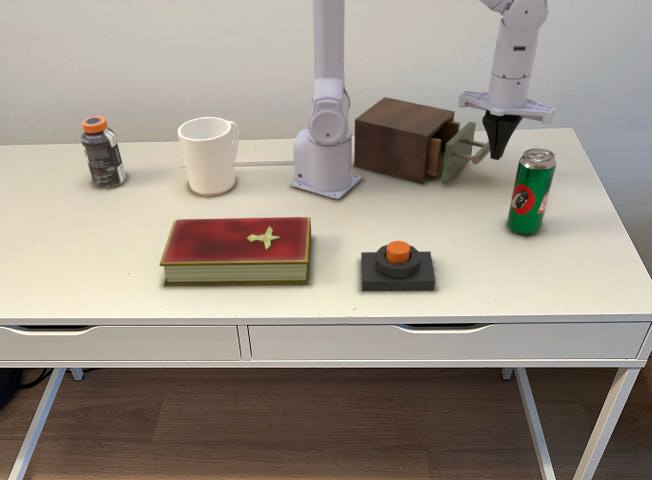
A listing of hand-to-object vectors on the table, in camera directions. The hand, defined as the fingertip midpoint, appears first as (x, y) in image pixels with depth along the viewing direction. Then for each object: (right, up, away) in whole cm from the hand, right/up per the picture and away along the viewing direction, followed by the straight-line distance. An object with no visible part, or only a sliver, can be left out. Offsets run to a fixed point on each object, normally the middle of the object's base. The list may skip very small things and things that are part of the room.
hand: (496, 156), depth 108 cm
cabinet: (-14, +2, +11) cm, 18 cm away
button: (-19, -19, -15) cm, 31 cm away
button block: (-18, -21, -13) cm, 31 cm away
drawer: (-8, +1, +7) cm, 11 cm away
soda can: (+2, -13, -6) cm, 14 cm away
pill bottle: (-66, -1, +12) cm, 68 cm away
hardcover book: (-41, -18, -8) cm, 46 cm away
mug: (-47, -2, +9) cm, 48 cm away
